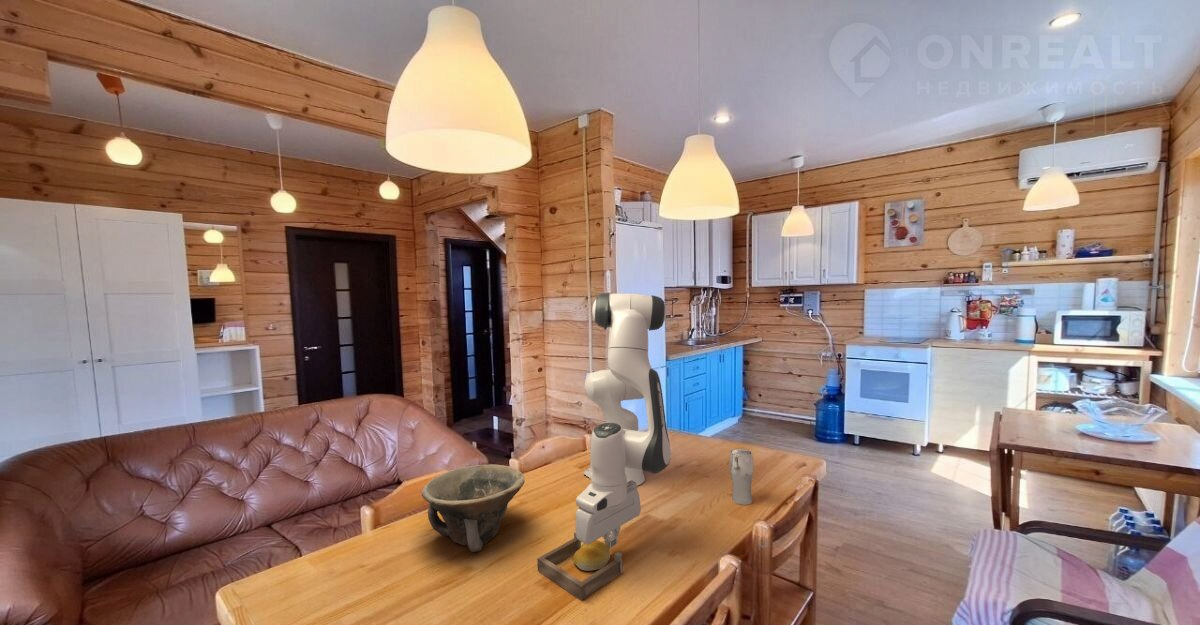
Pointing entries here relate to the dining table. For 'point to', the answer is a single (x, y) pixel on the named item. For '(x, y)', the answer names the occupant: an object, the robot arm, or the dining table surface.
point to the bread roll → (592, 556)
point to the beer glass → (741, 475)
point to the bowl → (471, 502)
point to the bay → (568, 581)
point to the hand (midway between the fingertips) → (611, 545)
